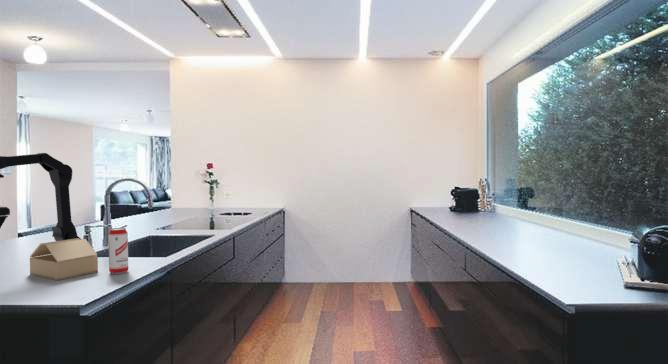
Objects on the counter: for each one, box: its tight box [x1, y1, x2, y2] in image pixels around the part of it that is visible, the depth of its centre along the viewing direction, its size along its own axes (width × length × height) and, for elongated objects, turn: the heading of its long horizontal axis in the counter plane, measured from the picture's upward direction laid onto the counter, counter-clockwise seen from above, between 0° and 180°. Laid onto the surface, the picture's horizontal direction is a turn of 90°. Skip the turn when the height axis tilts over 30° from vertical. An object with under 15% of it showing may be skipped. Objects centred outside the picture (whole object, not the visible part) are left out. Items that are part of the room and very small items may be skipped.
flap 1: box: [29, 237, 80, 258], centre depth 160 cm, size 14×9×1 cm
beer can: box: [107, 227, 129, 275], centre depth 157 cm, size 6×6×16 cm
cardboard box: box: [29, 254, 99, 281], centre depth 157 cm, size 14×18×6 cm
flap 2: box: [46, 238, 98, 262], centre depth 154 cm, size 14×9×1 cm
